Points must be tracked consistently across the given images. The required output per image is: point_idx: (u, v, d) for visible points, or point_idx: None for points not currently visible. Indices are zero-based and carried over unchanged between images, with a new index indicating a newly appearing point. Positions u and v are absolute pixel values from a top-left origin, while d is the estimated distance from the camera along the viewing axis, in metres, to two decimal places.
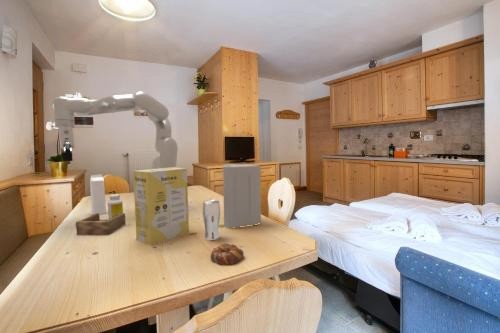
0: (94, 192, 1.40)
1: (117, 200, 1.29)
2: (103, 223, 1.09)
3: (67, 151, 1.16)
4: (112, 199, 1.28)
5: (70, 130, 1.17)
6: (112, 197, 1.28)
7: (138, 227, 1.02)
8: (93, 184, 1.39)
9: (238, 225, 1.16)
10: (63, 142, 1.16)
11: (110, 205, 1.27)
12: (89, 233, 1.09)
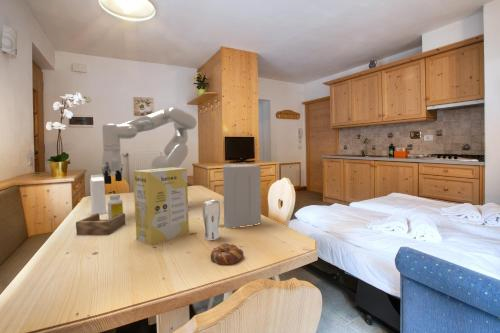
0: (94, 192, 1.40)
1: (117, 200, 1.29)
2: (103, 223, 1.09)
3: None
4: (112, 199, 1.28)
5: None
6: (112, 197, 1.28)
7: (138, 227, 1.02)
8: (93, 184, 1.39)
9: (238, 225, 1.16)
10: None
11: (110, 205, 1.27)
12: (89, 233, 1.09)
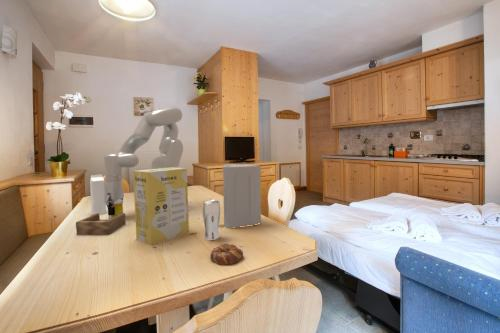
0: (94, 192, 1.40)
1: (117, 200, 1.29)
2: (103, 223, 1.09)
3: None
4: None
5: None
6: None
7: (138, 227, 1.02)
8: (93, 184, 1.39)
9: (238, 225, 1.16)
10: None
11: None
12: (89, 233, 1.09)
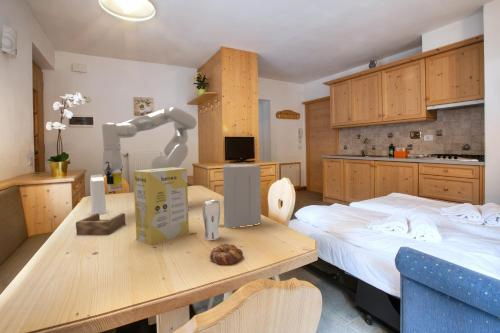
0: (94, 192, 1.40)
1: None
2: (103, 223, 1.09)
3: None
4: None
5: None
6: None
7: (138, 227, 1.02)
8: (93, 184, 1.39)
9: (238, 225, 1.16)
10: None
11: None
12: (89, 233, 1.09)
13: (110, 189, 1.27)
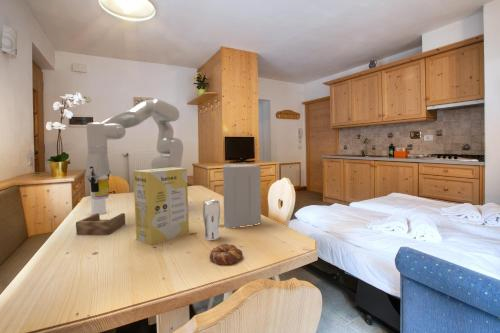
0: None
1: None
2: (103, 223, 1.09)
3: None
4: None
5: None
6: None
7: (138, 227, 1.02)
8: None
9: (238, 225, 1.16)
10: None
11: None
12: (89, 233, 1.09)
13: (94, 197, 1.12)
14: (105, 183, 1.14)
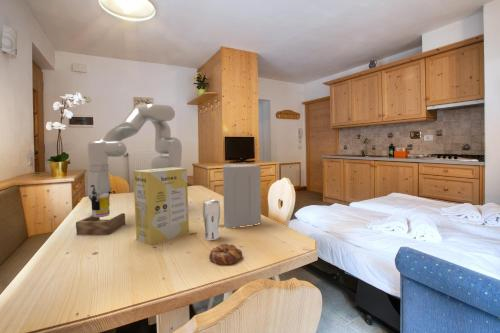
0: None
1: None
2: (103, 223, 1.09)
3: None
4: None
5: None
6: None
7: (138, 227, 1.02)
8: None
9: (238, 225, 1.16)
10: None
11: None
12: (89, 233, 1.09)
13: (95, 215, 1.12)
14: (106, 201, 1.14)
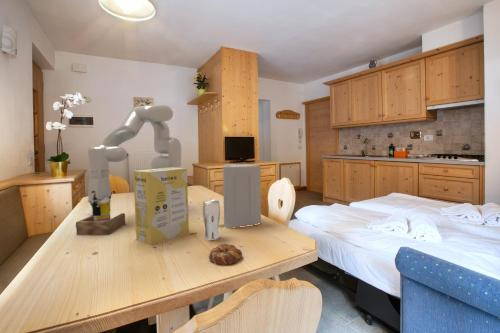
0: None
1: (103, 199, 1.14)
2: (103, 223, 1.09)
3: None
4: None
5: None
6: None
7: (138, 227, 1.02)
8: None
9: (238, 225, 1.16)
10: None
11: None
12: (89, 233, 1.09)
13: None
14: (107, 206, 1.15)
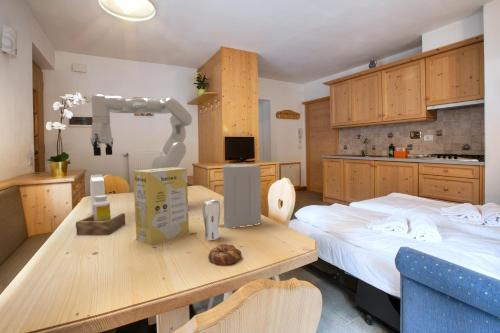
0: (94, 192, 1.40)
1: (103, 202, 1.14)
2: (103, 223, 1.09)
3: None
4: (98, 200, 1.13)
5: None
6: (98, 198, 1.13)
7: (138, 227, 1.02)
8: (93, 184, 1.39)
9: (238, 225, 1.16)
10: None
11: (95, 208, 1.12)
12: (89, 233, 1.09)
13: None
14: (107, 209, 1.15)
